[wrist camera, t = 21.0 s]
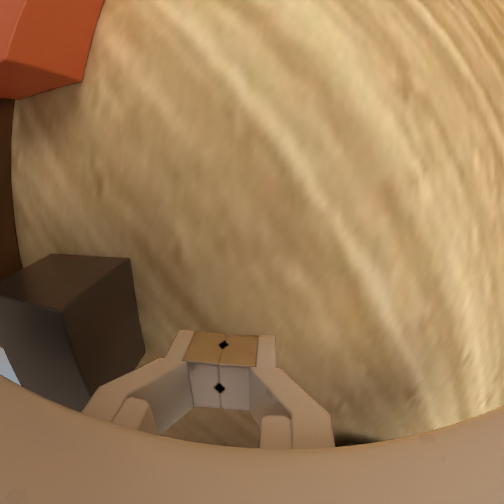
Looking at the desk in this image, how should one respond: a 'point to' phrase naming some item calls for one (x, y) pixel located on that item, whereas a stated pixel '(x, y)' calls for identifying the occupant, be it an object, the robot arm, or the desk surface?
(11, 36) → the terracotta block
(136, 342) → the charcoal block
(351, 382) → the desk surface
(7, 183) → the walnut straightedge
